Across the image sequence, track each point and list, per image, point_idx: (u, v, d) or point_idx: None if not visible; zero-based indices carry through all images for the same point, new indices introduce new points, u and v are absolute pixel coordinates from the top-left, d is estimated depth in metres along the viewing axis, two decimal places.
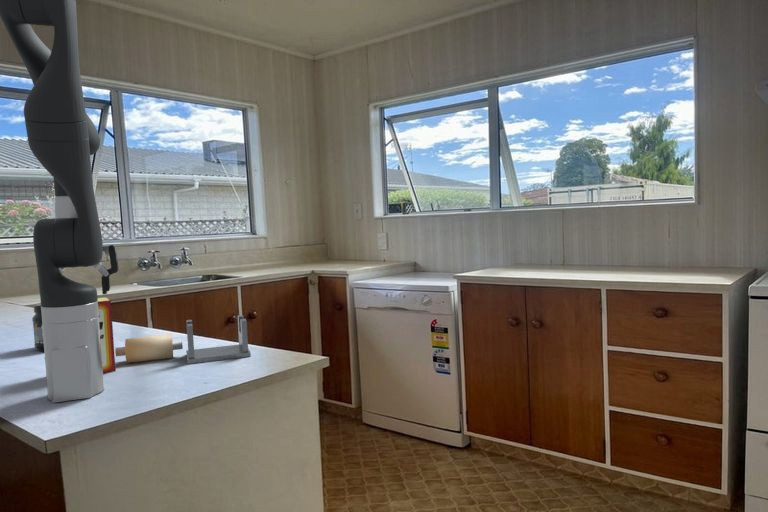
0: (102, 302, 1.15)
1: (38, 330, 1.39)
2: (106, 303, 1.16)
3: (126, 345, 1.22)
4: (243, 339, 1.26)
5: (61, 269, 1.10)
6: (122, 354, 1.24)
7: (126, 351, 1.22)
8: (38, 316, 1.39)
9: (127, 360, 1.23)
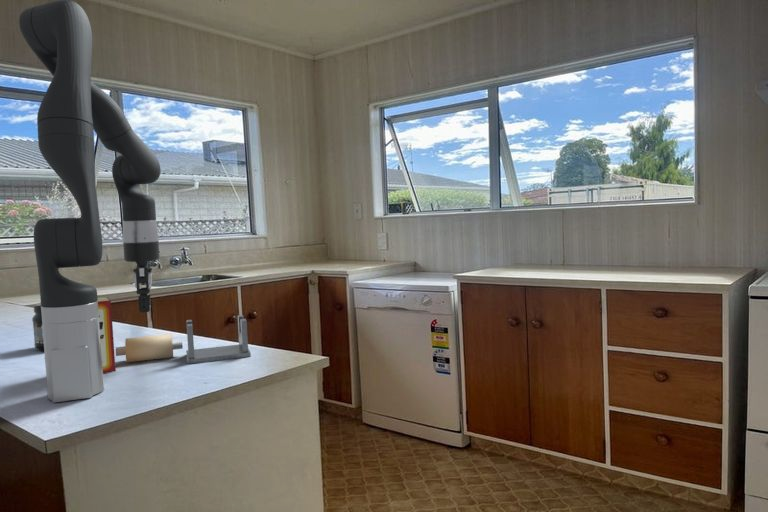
0: (102, 302, 1.15)
1: (38, 330, 1.39)
2: (106, 303, 1.16)
3: (126, 343, 1.23)
4: (243, 339, 1.26)
5: None
6: (122, 353, 1.24)
7: (126, 349, 1.23)
8: (38, 316, 1.39)
9: (127, 358, 1.23)
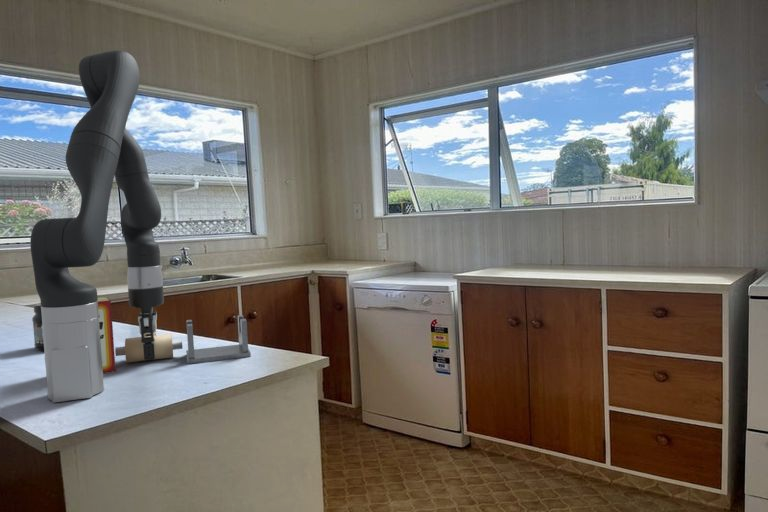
0: (102, 302, 1.15)
1: (38, 330, 1.39)
2: (106, 303, 1.16)
3: (126, 344, 1.22)
4: (243, 339, 1.26)
5: (155, 331, 1.24)
6: (122, 354, 1.24)
7: (126, 350, 1.22)
8: (38, 316, 1.39)
9: (127, 359, 1.23)
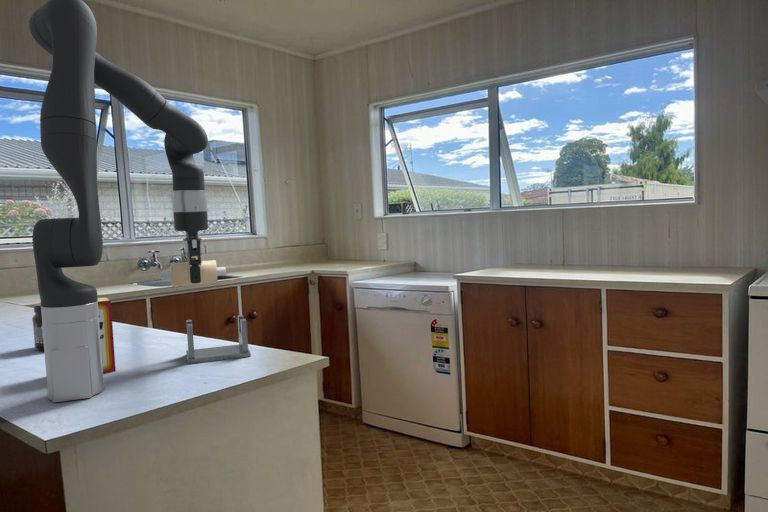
0: (102, 302, 1.15)
1: (38, 330, 1.39)
2: (106, 303, 1.16)
3: (172, 268, 1.23)
4: (243, 339, 1.26)
5: (201, 255, 1.25)
6: (167, 277, 1.24)
7: (172, 273, 1.23)
8: (38, 316, 1.39)
9: (173, 283, 1.23)
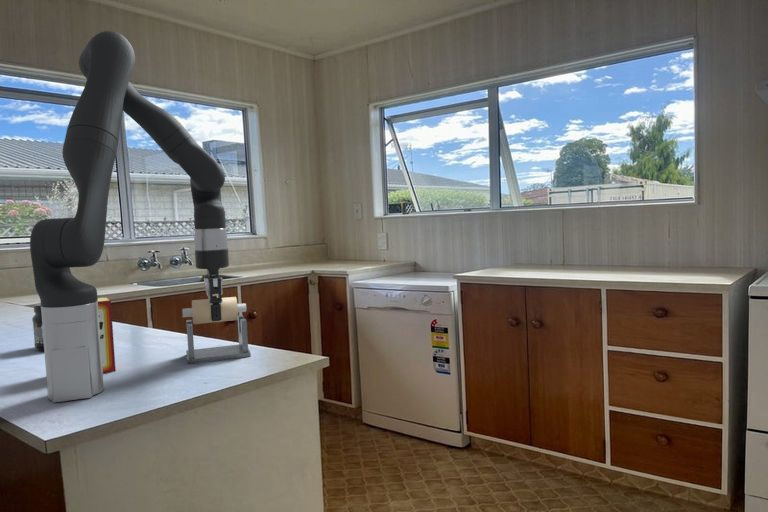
0: (102, 302, 1.15)
1: (38, 330, 1.39)
2: (106, 303, 1.16)
3: (193, 306, 1.24)
4: (243, 339, 1.26)
5: None
6: (189, 315, 1.25)
7: (194, 311, 1.23)
8: (38, 316, 1.39)
9: (194, 321, 1.24)
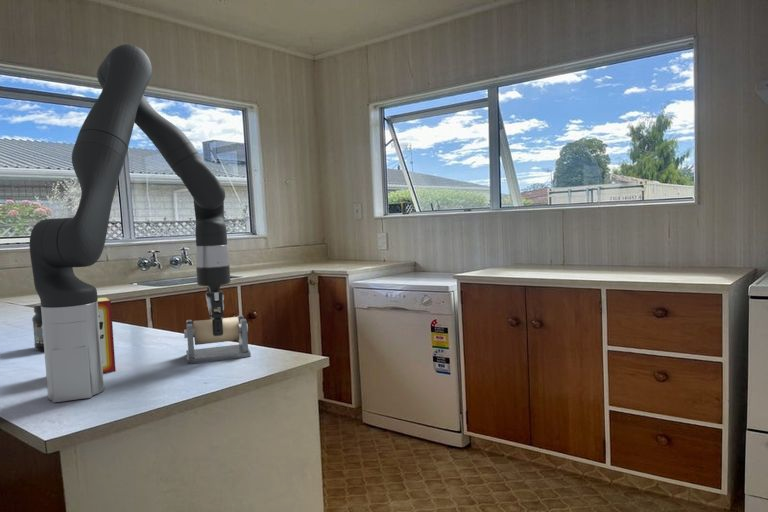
0: (102, 302, 1.15)
1: (38, 330, 1.39)
2: (106, 303, 1.16)
3: (195, 327, 1.24)
4: (243, 339, 1.26)
5: (223, 309, 1.25)
6: None
7: (195, 333, 1.23)
8: (38, 316, 1.39)
9: (196, 342, 1.24)
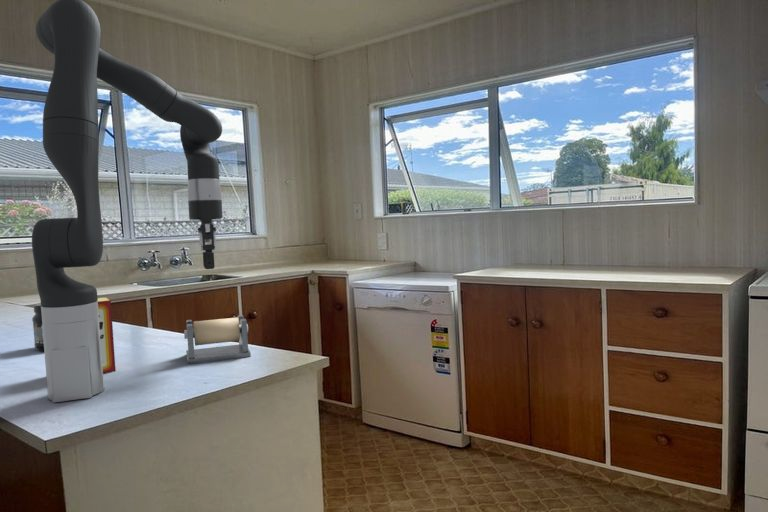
0: (102, 302, 1.15)
1: (38, 330, 1.39)
2: (106, 303, 1.16)
3: (196, 336, 1.23)
4: (243, 339, 1.26)
5: (215, 243, 1.24)
6: None
7: (196, 341, 1.23)
8: (38, 316, 1.39)
9: None
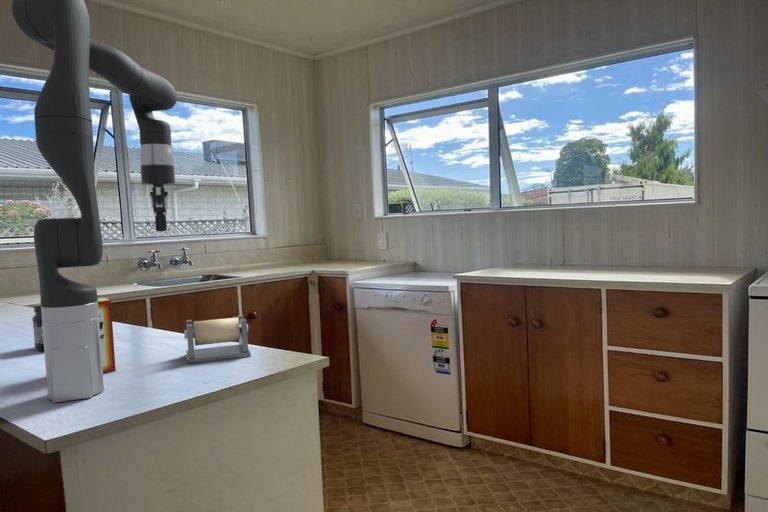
0: (102, 302, 1.15)
1: (38, 330, 1.39)
2: (106, 303, 1.16)
3: (196, 336, 1.23)
4: (243, 339, 1.26)
5: (166, 206, 1.29)
6: None
7: (196, 341, 1.23)
8: (38, 316, 1.39)
9: None
